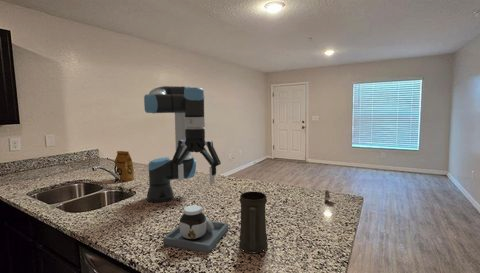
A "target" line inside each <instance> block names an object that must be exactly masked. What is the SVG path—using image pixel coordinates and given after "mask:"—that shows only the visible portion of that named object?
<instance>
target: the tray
mask: <svg viewBox="0 0 480 273" xmlns="http://www.w3.org/2000/svg"><path fill="white" fill-rule="evenodd" d="M211 221H212V223H213V225H214V230H213V231H212V232H208V231H206V233H205V234H204V236H203V237H202V238H201V239H199V240H196V241H188V240H186V239H184V238H183V237H182V236H181V234H180V224H179V225H178V226H176V227H175V228H174V229H172V230H171V231H170V232H169V233H168V234H166V235H165V236H164V237H163V238H162V240H163V241H162V242H163V243H162V244H163V246H164V247H170V248H175V249H181V250H188V251H191V250H192V252H197V253H203V252H204V253H203V254H208V253H210V254H211V252H212V251H213V250H214V249H215V248H216V246H217V245H218V244H219V242H220V241H221V240H222V239H223V238H224V237H225V235H226V234H225V233H227V232H228V231H229V222H228V223H227V222H222V221H221V222H220V221H215V220H214V221H213V220H211ZM221 238H222V239H221ZM217 243H218V244H217ZM216 244H217V245H216ZM213 248H214V249H213ZM212 249H213V250H212Z"/></svg>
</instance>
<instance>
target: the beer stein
mask: <svg viewBox="0 0 480 273" xmlns="http://www.w3.org/2000/svg"><path fill="white" fill-rule="evenodd" d="M239 202H240V230H239V231H240V232H239V242H238V246H239V247H238V248H239V249H240V248H241V249H242V250H241V249H240V250H241V251H243V250H244V251H246V252H245V253H247V252H260V251H263V250H265V249H266V248H267V247H268V246H269V243H268V236H267V219H266V204H267V203H268V199H267V194H265V193H264V192H261V191H245V192H243V193H241V194H240V197H239ZM267 249H268V248H267ZM267 249H266V250H267ZM266 250H265V251H266ZM244 251H243V252H244ZM263 252H264V251H263ZM260 253H261V252H260Z"/></svg>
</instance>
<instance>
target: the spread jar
mask: <svg viewBox="0 0 480 273" xmlns="http://www.w3.org/2000/svg"><path fill="white" fill-rule="evenodd" d="M212 221H213V220H211V219H210V218H209V217H208V216H206V215H205V213H203V212H202V206H200V205H195V204H194V205H188V206H186V207H184V208H183V214H182V215H181V216H180V219H179V225H180V234H181V236H182V237H183V238H184V239H186V240H188V241H196V240H199V239H201V238H202V237H203V236H204V234H205V233H206V231H208V232H212V231H213V230H214V225H213V223H212Z"/></svg>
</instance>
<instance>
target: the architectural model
mask: <svg viewBox="0 0 480 273" xmlns="http://www.w3.org/2000/svg"><path fill="white" fill-rule="evenodd" d="M329 200H331V201H332V195H331V194H330V191H329V189H326V188H325V189H324V202H328V203H329Z"/></svg>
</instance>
